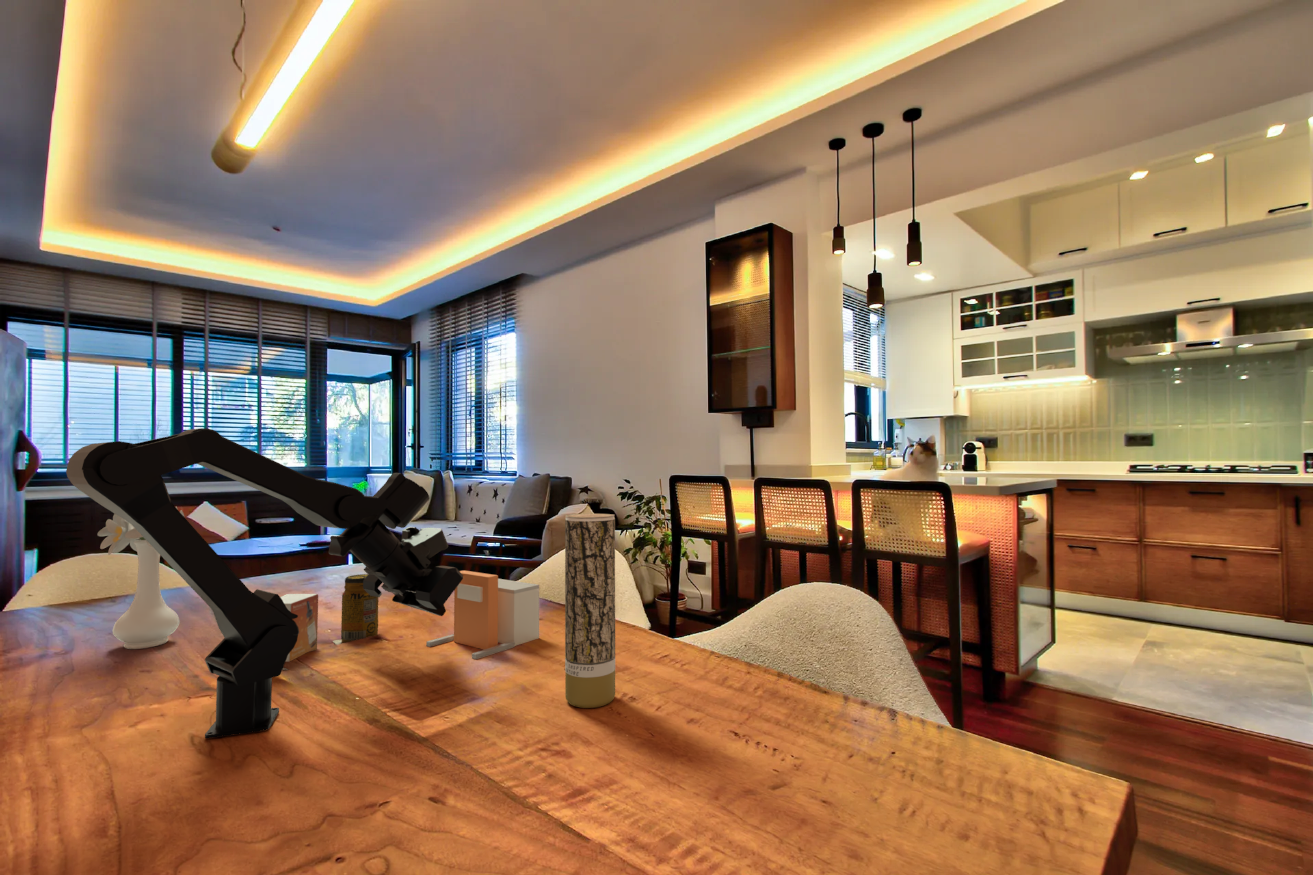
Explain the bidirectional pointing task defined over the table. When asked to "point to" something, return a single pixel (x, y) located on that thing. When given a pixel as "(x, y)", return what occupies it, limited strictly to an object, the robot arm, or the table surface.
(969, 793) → the table surface
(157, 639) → the flower vase
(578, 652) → the paper tube
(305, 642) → the small box
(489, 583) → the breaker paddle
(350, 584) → the condiment
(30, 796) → the table surface
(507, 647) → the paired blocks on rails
